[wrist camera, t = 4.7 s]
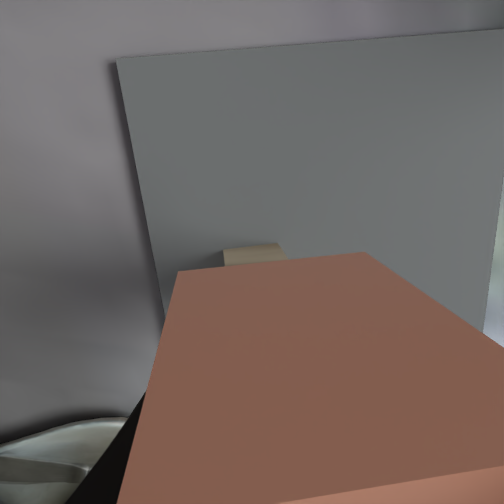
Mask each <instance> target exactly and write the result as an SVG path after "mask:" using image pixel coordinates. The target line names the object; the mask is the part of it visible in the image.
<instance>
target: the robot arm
mask: <svg viewBox="0 0 504 504" xmlns="http://www.w3.org/2000/svg"><path fill="white" fill-rule="evenodd" d="M146 391H147V390H146ZM145 395H146V392H145V393H144V395H143V396H142V398H141V400H140V401H139V403H138V404H137V406H136V407H135V409H134V410H133V412H132V413H131V415H130V416H129V418H128V419H127V421H126V422H125V423H124V425H123V426H122V428H121V429H120V431H119V432H118V433H117V435H116V436H115V438H114V439H113V440H112V442H111V443H110V445H109V446H108V448H107V449H106V450H105V452H104V453H103V454H102V456H101V457H100V458H99V460H98V461H97V462H96V464H95V465H94V466H93V467H92V469H91V470H90V471H89V473H88V474H87V475H86V476H85V478H84V479H83V480H82V482H81V483H80V484H79V486H78V487H77V488H76V489H75V491H74V492H73V493H72V494H71V496H70V497H69V498H68V499H67V501H66V502H65V503H64V504H117V501H118V497H119V493H120V489H121V485H122V482H123V478H124V474H125V470H126V467H127V463H128V459H129V455H130V451H131V448H132V444H133V440H134V436H135V432H136V429H137V425H138V421H139V417H140V414H141V410H142V406H143V402H144V398H145Z"/></svg>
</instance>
